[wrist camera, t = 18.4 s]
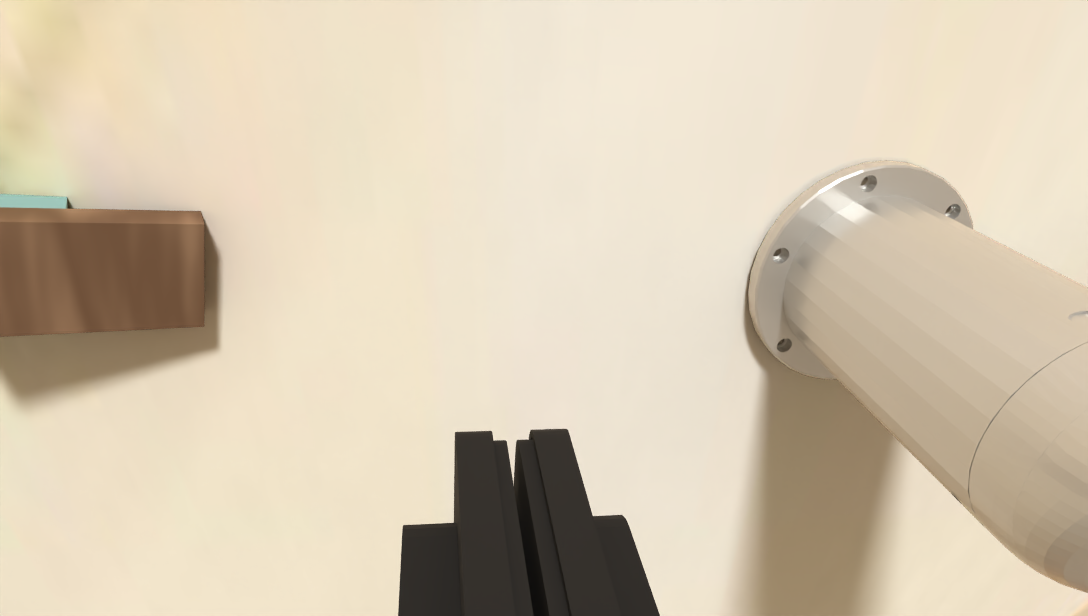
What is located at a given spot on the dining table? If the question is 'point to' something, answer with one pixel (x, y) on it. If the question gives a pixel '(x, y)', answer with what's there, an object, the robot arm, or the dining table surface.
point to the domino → (99, 270)
